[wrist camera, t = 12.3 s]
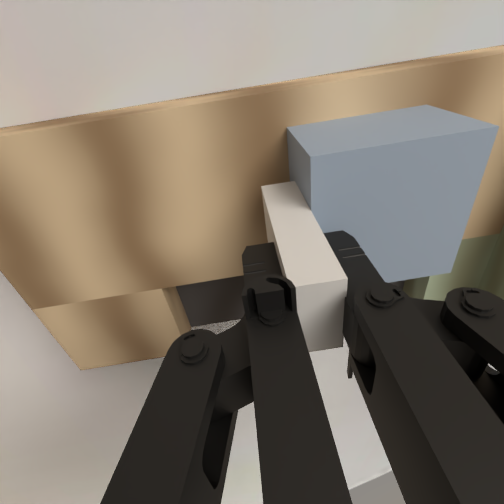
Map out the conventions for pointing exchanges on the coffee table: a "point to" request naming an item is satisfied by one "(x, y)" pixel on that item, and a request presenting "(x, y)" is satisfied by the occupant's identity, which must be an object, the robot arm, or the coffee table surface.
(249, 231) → the board
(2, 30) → the coffee table surface
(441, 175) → the block
